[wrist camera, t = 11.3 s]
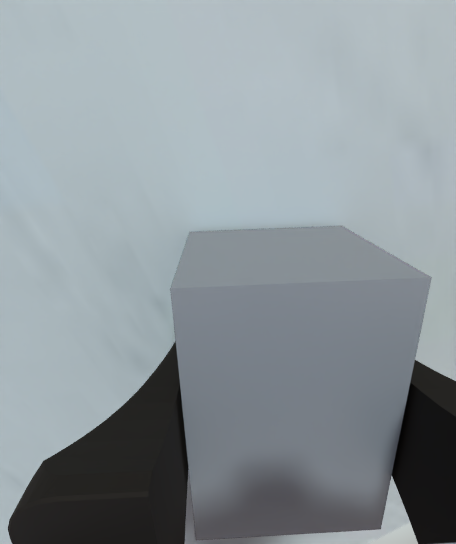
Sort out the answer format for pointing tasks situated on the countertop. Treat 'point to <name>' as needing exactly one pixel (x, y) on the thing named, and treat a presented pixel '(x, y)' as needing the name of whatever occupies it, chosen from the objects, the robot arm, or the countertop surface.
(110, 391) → the countertop surface
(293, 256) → the tall grey box
